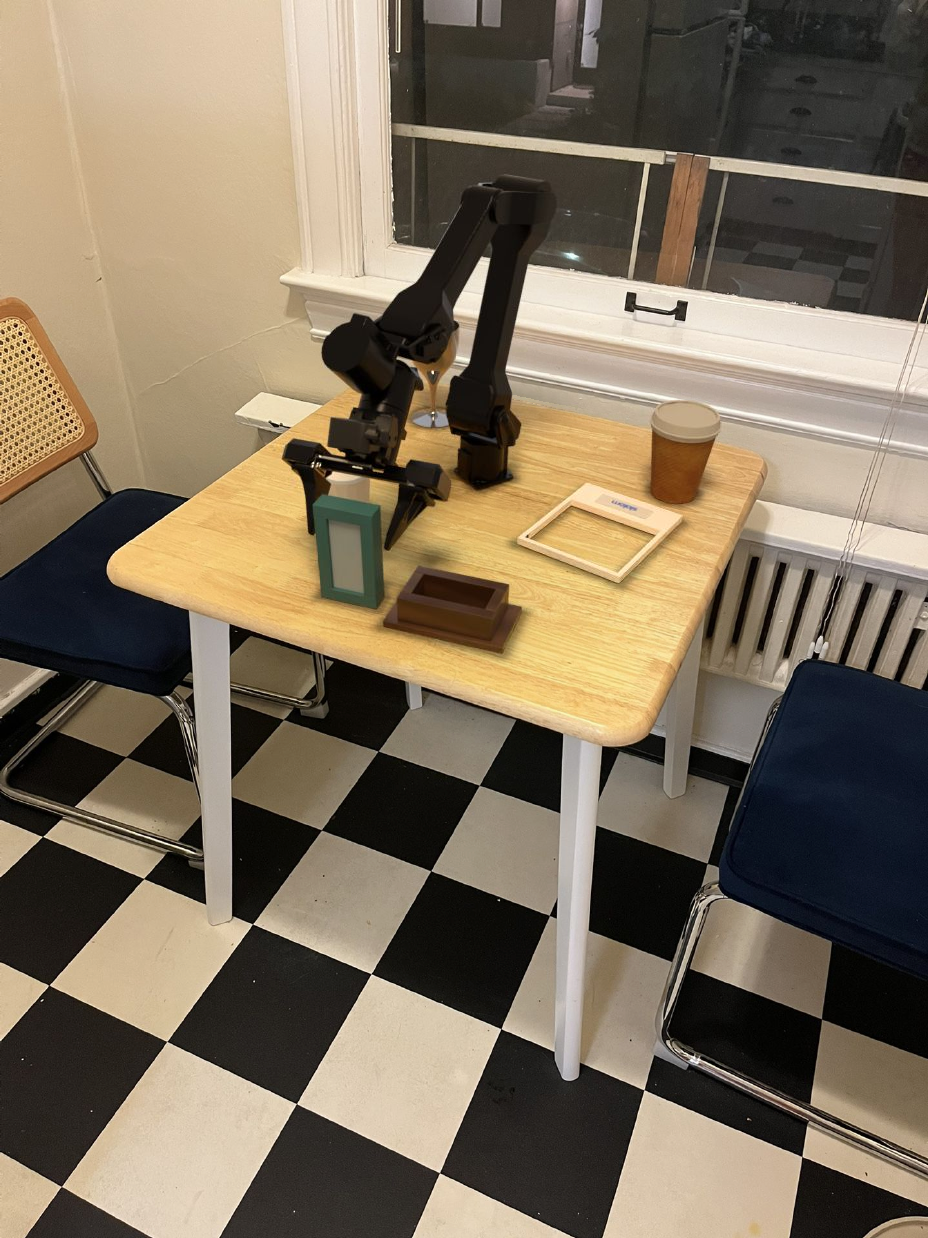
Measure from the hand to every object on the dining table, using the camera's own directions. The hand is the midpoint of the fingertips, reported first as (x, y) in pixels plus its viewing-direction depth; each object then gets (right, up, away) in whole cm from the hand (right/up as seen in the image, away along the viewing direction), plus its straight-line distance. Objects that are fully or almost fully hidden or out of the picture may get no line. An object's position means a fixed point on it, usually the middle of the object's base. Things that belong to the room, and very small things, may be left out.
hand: (348, 542), depth 102 cm
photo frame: (+31, +3, +17) cm, 35 cm away
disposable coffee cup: (+42, +9, +26) cm, 51 cm away
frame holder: (+12, -9, +2) cm, 15 cm away
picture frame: (0, -6, +5) cm, 8 cm away
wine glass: (+8, +24, +44) cm, 50 cm away
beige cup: (-3, +5, +19) cm, 20 cm away
